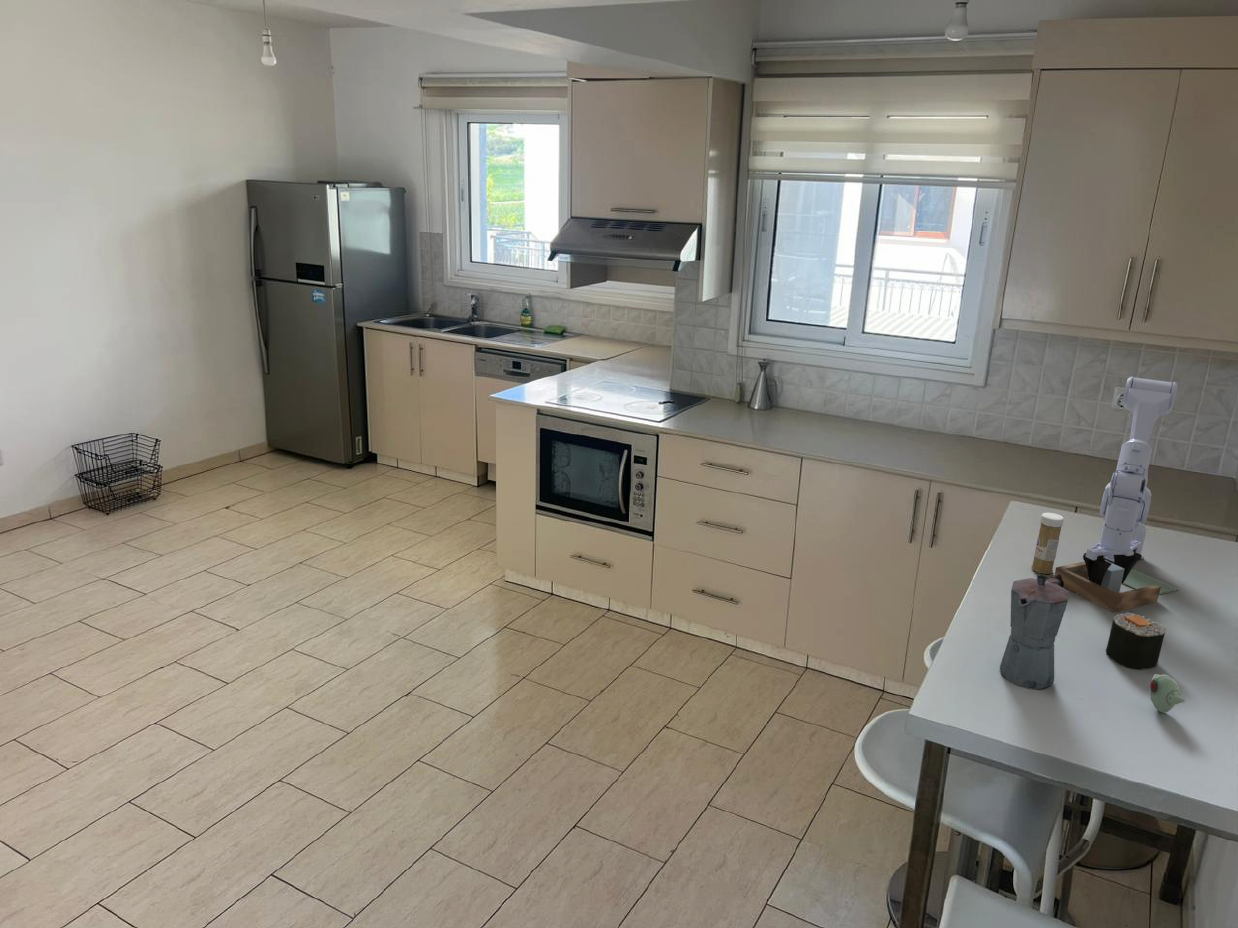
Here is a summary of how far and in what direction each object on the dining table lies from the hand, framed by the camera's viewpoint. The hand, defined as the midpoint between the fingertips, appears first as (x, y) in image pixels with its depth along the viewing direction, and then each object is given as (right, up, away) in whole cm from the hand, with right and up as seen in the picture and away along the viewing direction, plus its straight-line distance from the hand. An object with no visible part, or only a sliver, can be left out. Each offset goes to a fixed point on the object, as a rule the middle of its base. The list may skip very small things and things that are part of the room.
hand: (1105, 584), depth 196 cm
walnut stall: (0, -1, +1) cm, 2 cm away
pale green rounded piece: (-15, -16, -44) cm, 49 cm away
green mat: (+11, 0, +5) cm, 12 cm away
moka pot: (-33, -12, -34) cm, 49 cm away
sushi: (-10, -10, -27) cm, 30 cm away
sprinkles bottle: (-9, +2, +10) cm, 14 cm away
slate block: (0, -2, +1) cm, 2 cm away
